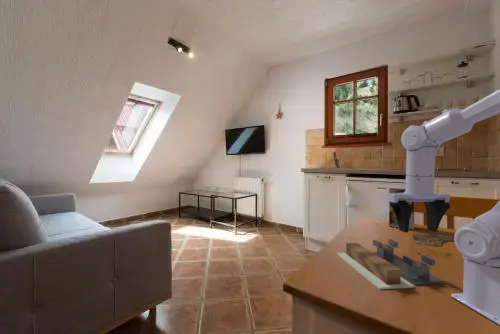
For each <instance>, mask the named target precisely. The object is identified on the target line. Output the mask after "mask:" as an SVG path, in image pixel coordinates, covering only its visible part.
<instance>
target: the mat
mask: <svg viewBox="0 0 500 334" xmlns="http://www.w3.org/2000/svg"><path fill="white" fill-rule="evenodd" d="M336 255H337V256H338V257H339V258H341V259H342V260H343V261H344V262H346V263H347V264H348V265H349V266H350V267H351V268H353V269H354V270H355V271H357V272H358V273H359V274H360V275H361V276H362V277H363V278H365V279H366V280H367V281H369V283H371V284H372V285H373V286H374V287H376V288H377V289H378V290H392V289H393V290H394V289H395V290H396V289H411V288H414V287H415V285H414V284H412V283H411V282H409V281H408V280H406V279H405V278H403V277H401V276H400V284H390V285H387V284H385V283H384V282H383V281H381V280H380V279H379V278H377V277H376V276H375V275H373V274H372V273H371V272H369V271H368V270H367V269H365V268H364V267H363V266H361V265H360V264H359V263H358V262H356V261H355V260H354V259H352V258H351V257H350V256H348V255H347V254H346V252H336Z"/></svg>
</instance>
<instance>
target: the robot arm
mask: <svg viewBox="0 0 500 334" xmlns="http://www.w3.org/2000/svg"><path fill="white" fill-rule="evenodd" d="M441 113H442V114H439V115H437V116H436V117H434V118H432V119H430V120H425V121H424V122H423V123H422V124H421V125H409V126H408V127H407V128H406V129H405V130H404V131H403V132H402V135H401V139H400V140H401V141H400V142H401V145H402V146H403V148H404V149H406V163H405V164H406V165H405V189H406V191H405V192H404V193H392V194H389V193H388V202H389V201H390V206H391V207H392V209H393V211H394V213H395V215H396V218H397V222H398V226H399V228H398V229H399V231H401V232H402V233H409V230H410V229H409V219H410V215H411V212H412V209H413V206H412V205H408V203H407V202H414V203H415V202H416V203H418V202H419V203H420V202H422V203H423V204H424V207H425V212H426V226H427V227H426V228H427V230H429V231H430V232H437V231H438V230H439V229H438V228H439V226H440V224H441V221H442V219H443V217H444V215H445V214H446V212H448V210H450V208H451V204H450V203H449V202H450V198H451V196H450V194H449V193H444V192H435V171H436V170H435V169H436V157H437V155H438V149H439V148H440V146H441V145H442V144H443V143H445V142H447V141H450V140H452V139H455V138H457V137H461V136H462V135H465V134H467V133H469V132H470V131H471V130H472V129H473V126H474V124H476V123H478V122H481V121H483V120H486V119H489V118H491V117H494V116H496V115H499V114H500V88H499V89H497V90H496V91H493V92H492V93H490V94H489V95H487V96H485V97H483V98H482V99H480V100H478V101H476V102H474V103H472V104H471V105H469V106H466V107H465V108H463V109H461V108H456V107H455V108H446V109H444V110H442V111H441ZM453 236H454V240H453V241H454V244H455V246H456V248H457V250H458V251H459V252H460V254H461V257H462V258H463V277H462V279H463V283H462V285H463V286H462V288H463V290H462V292H457V293H455V292H453V293H451V294H450V297H452V298H453V299H455V300H457V301H459V302H460V303H462V304H464V305H465V306H467V307H469V308H470V309H472V310H473V311H475V312H477V313H479V314H480V315H482V316H484V317H485V318H486V319H489V320H490V321H492V322H494V323H496V324H497V325H499V326H500V200H498V202H497V203H496V204H495V205H494V206H493V207H492V208H491V209H490V210H488V211H486V212H483V214H480V215H478V216H476V217H475V218H473V220H472V221H471V222H470V223H469V224H465V225H462V226H460V227H459V228H457V229H456V231H455V232H454V235H453Z"/></svg>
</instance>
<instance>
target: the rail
mask: <svg viewBox="0 0 500 334" xmlns="http://www.w3.org/2000/svg"><path fill="white" fill-rule="evenodd" d="M345 244H346V245H345V253H346V254H347V255H348V256H350V257H351V258H352V259H354V260H355V261H356V262H358V263H359V264H360V265H361V266H363V267H364V268H365V269H367V270H368V271H369V272H371V273H372V274H373V275H375V276H376V277H377V278H379V279H380V280H381V281H383V282H384V283H385V284H387V285H390V284H400V277H401V276H400V275H401V270H400V269H399V268H397V267H396V266H394V265H392V264H391V263H389V262H387V261H386V260H384V259H382V258H381V257H379V256H377V255H376V254H374V253H373V252H374V251H371V250H370V249H367V248H366V247H365V246H363V245H361V244H359V243H358V242H345Z"/></svg>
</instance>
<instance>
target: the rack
mask: <svg viewBox="0 0 500 334" xmlns="http://www.w3.org/2000/svg"><path fill="white" fill-rule="evenodd" d="M387 241H388V242H387V243H382V242H381V241H378V240H377V239H372V246H374V247H376V251H372V252H373V253H374V254H376V255H377V256H379V257H381V258H382V259H384V260H386V261H387V262H389V263H391V264H392V265H394V266H396V267H397V268H399V269H400V270H401V275H400V277H401V278H403V279H404V280H406V281H407V282H409V283H411V284H412V285H414V286H420V285H421V286H423V285H438V284H444V280H443V279H441V278H439V277H437V276H436V275H433V273H432V274H431V273H430V271H431V270H430V268H431V267H434V266H436V260H435V259H434V258H432V257H430V256H428V255H426V254H421V255H420V258H421V261H420V260H416V259H413V258H412V257H409V256H408V255H403V256H402V257H400V256H398V255H397V254H394V253H395V252H394V249H396V248H399V242H398V241H395V240H393V239H391V238H390V239H388V238H387ZM430 266H431V267H430Z"/></svg>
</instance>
